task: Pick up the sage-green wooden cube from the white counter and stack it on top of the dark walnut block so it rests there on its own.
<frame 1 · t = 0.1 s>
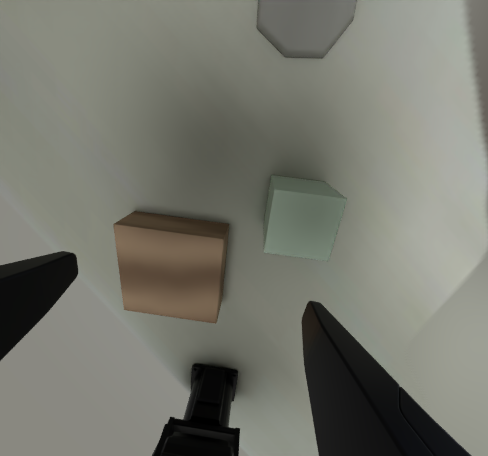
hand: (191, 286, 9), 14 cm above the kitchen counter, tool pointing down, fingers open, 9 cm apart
walnut block: (182, 257, 26), on the kitchen counter
sage cube: (292, 203, 22), on the kitchen counter
flask: (305, 1, 16), on the kitchen counter
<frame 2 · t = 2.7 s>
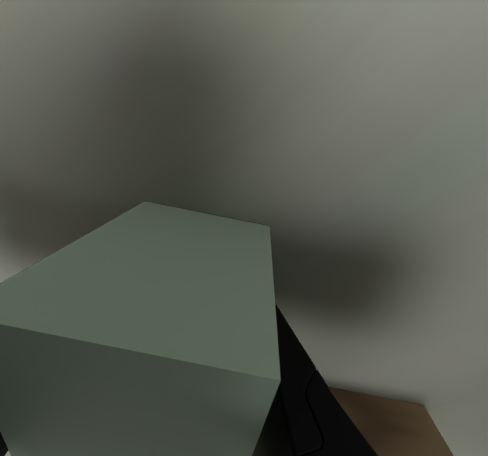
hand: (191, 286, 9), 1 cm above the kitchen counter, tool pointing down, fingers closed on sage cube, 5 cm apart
walnut block: (305, 430, 14), on the kitchen counter
sage cube: (200, 266, 10), on the kitchen counter, touching gripper
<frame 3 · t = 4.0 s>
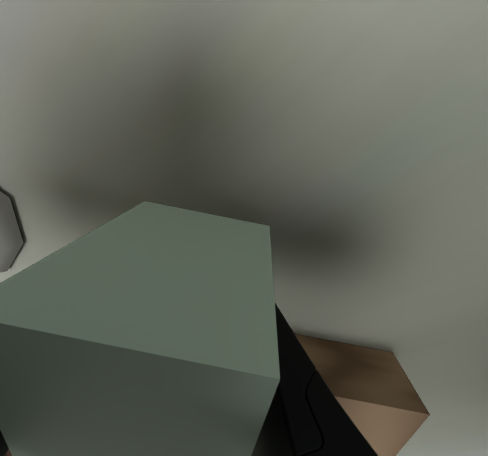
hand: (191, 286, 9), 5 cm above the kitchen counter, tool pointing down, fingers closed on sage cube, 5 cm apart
walnut block: (299, 380, 17), on the kitchen counter
sage cube: (200, 266, 10), point 3 cm above the kitchen counter, touching gripper
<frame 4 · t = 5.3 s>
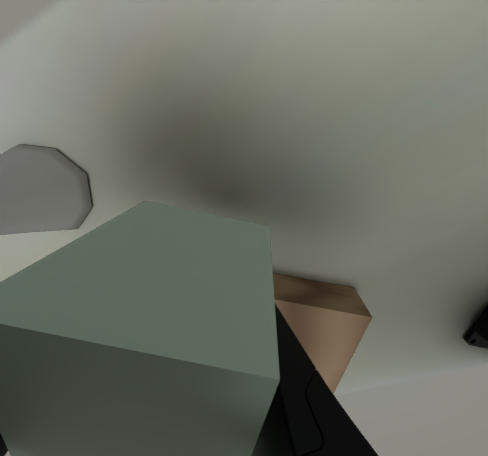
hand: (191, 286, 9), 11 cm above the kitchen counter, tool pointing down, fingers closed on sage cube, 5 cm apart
walnut block: (288, 316, 23), on the kitchen counter
sage cube: (200, 266, 10), point 10 cm above the kitchen counter, touching gripper
flask: (55, 188, 20), on the kitchen counter
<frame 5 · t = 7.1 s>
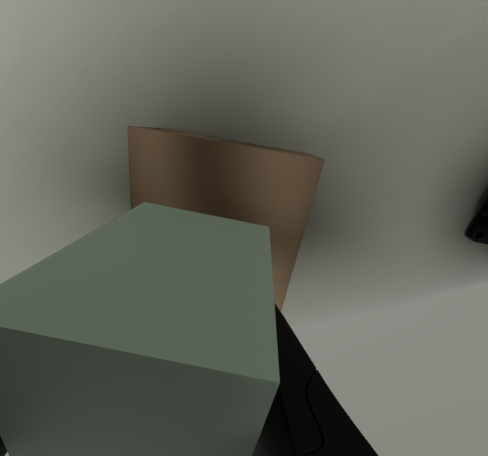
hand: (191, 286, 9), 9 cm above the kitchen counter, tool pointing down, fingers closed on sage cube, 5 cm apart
walnut block: (225, 211, 17), on the kitchen counter
sage cube: (200, 267, 10), point 7 cm above the kitchen counter, touching gripper
when the fingers open (7 cm above the kitchen counter, at t = 8.3 s): sage cube drops 2 cm, point 4 cm above the kitchen counter.
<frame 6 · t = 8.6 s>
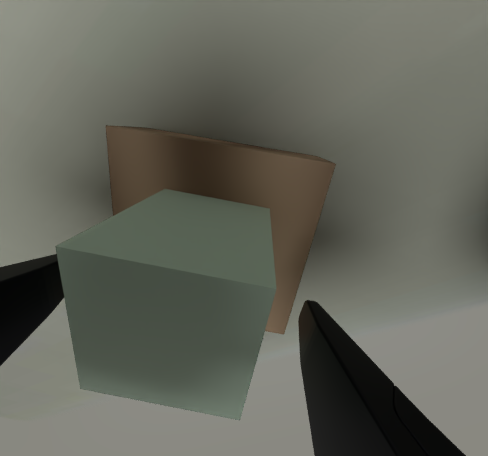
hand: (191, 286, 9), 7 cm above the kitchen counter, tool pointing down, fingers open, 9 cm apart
walnut block: (222, 219, 15), on the kitchen counter
sage cube: (211, 245, 11), point 4 cm above the kitchen counter
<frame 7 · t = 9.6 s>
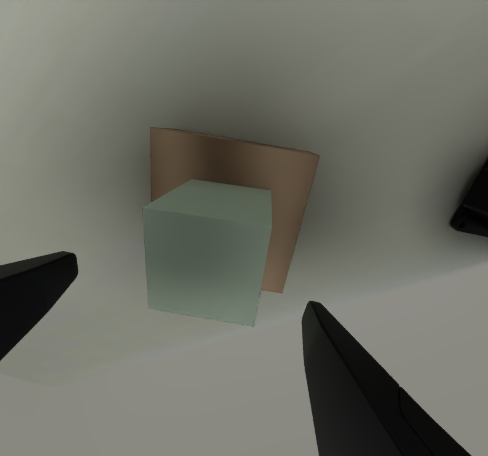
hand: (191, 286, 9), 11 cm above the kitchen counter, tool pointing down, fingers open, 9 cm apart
walnut block: (232, 203, 19), on the kitchen counter, touching sage cube
sage cube: (227, 221, 15), point 4 cm above the kitchen counter, touching walnut block
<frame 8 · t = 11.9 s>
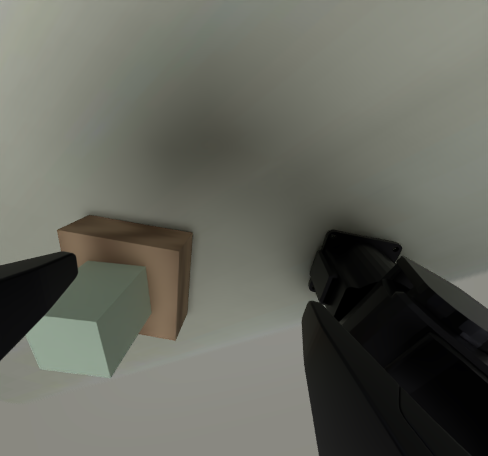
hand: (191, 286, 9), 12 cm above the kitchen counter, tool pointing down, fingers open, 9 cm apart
walnut block: (144, 266, 24), on the kitchen counter, touching sage cube
sage cube: (121, 287, 20), point 4 cm above the kitchen counter, touching walnut block
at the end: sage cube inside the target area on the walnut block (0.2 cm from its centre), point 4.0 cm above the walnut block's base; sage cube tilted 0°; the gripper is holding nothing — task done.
